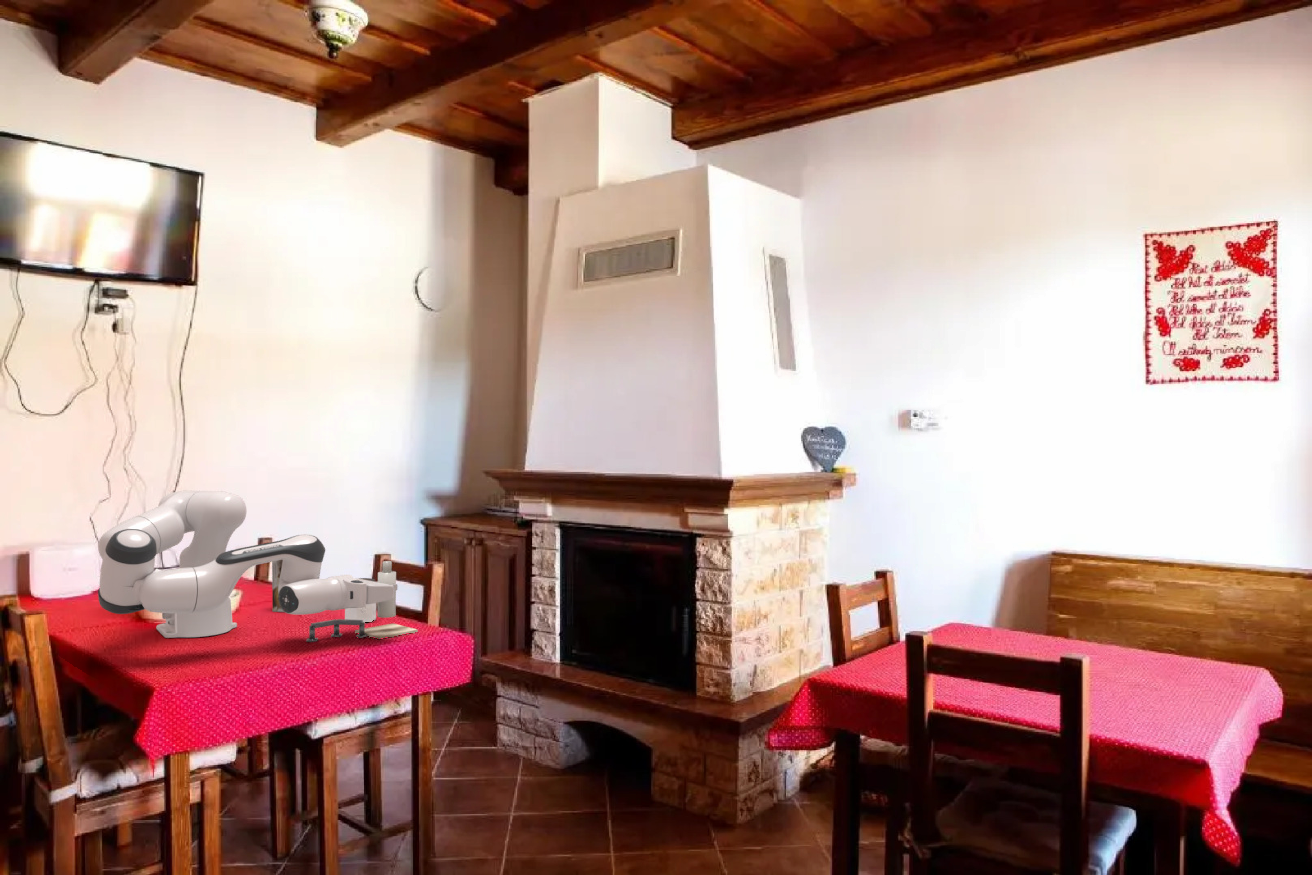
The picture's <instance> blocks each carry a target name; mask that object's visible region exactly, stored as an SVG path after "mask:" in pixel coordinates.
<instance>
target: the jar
mask: <svg viewBox="0 0 1312 875" xmlns="http://www.w3.org/2000/svg"><path fill="white" fill-rule="evenodd" d="M357 578H358V579H363V580H368V581H374V582H376V579H375V578H372V577H371V578H369V577H368V578H367V577H363V578H362V577H360V578H359V577H357ZM344 619H348V620H363V622H372V621H373V620H374V621H376V620H377V603H374V604H366V607H363V608H348V609H344ZM374 621H373V622H374ZM373 622H372V623H373Z"/></svg>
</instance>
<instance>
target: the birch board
mask: <svg viewBox="0 0 1312 875" xmlns="http://www.w3.org/2000/svg"><path fill="white" fill-rule="evenodd" d="M418 630H419V629H416V628H413V627H409V626H405V625H403V624H402V625H401V624H397V623H387V624H383V625H376V626H371V627H370V626H369V627H365V634H367V636H369V637H368V638H370V637H375V638H378V639H381V638H385V637H392V638H395V637H394V636H397V637H399V636H398V635H402V634H406V633H413V634H416V633H415V632H418ZM354 633H355V634H356V633H359V629H355V630H354ZM418 633H419V632H418ZM402 636H403V635H402Z"/></svg>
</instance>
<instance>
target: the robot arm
mask: <svg viewBox="0 0 1312 875" xmlns="http://www.w3.org/2000/svg"><path fill="white" fill-rule="evenodd" d="M246 516H247V505H246V503H245V501H244V499H243V498H242V497H241V496H239V495H237V494H233V493H231V492H227V491H222V490H221V491H219V490H188V489H187V490H179V491H174V492H170V493H169V492H168V493H167V494H166V495H164V496H163V497H162V498H161V499H160V501H159V503H158V506H155V508H152V509H150V510H148V511H145V512H143V513H140V514H138V515H135V516H133V517H130V518H127V520H124V521H122V522H120V523H118V524H117V525H115V526H113V527H112V528H110V529H109V530H107V531H106V532H105V533H103V534H102V536H100V537H99V541H98V545H97V548H98V554H99V556H100V557H101V559H102V563H101V566H100V574H99V588H98V591H97V599H98V603H99V605H100V607H101V608H102V609H103V610H105V611H107V612H109V613H111V614H112V613H113V614H116V615H129V614H133V613H136V612H140V611H144V610H146V611H149V612H150V613H151V612H152V613H158V614H162V615H161V616H162V620H165V622H164V623H159V624H157V625H156V630H157V631H158V632H159V633H160V635H162V636H163V637H164V638H165V639H166V638H167V639H169V638H200V637H209V636H216V635H217V636H218V635H222V634H224V633H227V632H230V631H231V630H232V629H234V628H237V627H238V623H237V622H233V613H232V612H233V611H232V602H231V601H232V600H231V597H230V596H231V594H232V593H233V592H234V589H235V587H236V585H237V583H238V582H239V580H240V579H241V577H242V576H243V575H244V574H245V573H246V571H248V570H249V569H250V568H252V567H254V566H257V565H262V564H267V563H268V564H269V563H272V562H273V561H278V560H283V562H282V569H281V575H280V580H279V587H278V600H279V604H280V607H281V608H282V610H283V611H284V612H283V613H286V614H289V615H295V616H296V615H297V616H298V615H312V614H313V615H314V614H319V613H322V612H325V611H339V610H345V609H348V608H363V607H366V604H374V603H376V604H378V603H379V602H383V601H387V600H391V599H392V598H393V597H394V591H396V592H397V590H398V583H396V584H384V583H379V582H378V581H375V582H374V581H368V580H363V579H358V578H359V577H354V576H352V575H351V574H344V575H343V574H340V575H334V576H329V577H327V578H320V577H321V575H320V574H321V570H322V562H323V560H324V557H325V554H326V547H325V545H324V544H323V543H322V541H321V540H320V539H319V538H318V537H317V536H315V535H312V534H298V535H293V536H290V537H288V538H285V539H281V540H276V541H275V540H274V541H271V542H267V543H260V544H255V545H249V546H245V547H240V548H235V549H231V550H227V546H228V544H229V541H230V539H231V537H232V535H233V534H234V532H235V531H236V530H237V529H238V528H239V527H240V526H242V525H243V523H244V522H245V520H246ZM190 532H193V537H192V540H191V542H190V544H189V545H188V546H187V547H185V548H184V549H183V550H182V551H181V552H180V554H179V563H178V564H179V567H178V568H172V569H165V570H163V569H158V568H156V569H155V563H156V556H157V555H158V554H160V553H163V552H165V551H167V550H169V549H171V548H174V547H175V546H177V545H179V544H180V543H181V542H182V540H184V539H183V538H184V536H185V534H187V533H190ZM226 550H227V551H226Z"/></svg>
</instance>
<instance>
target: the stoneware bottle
mask: <svg viewBox="0 0 1312 875" xmlns="http://www.w3.org/2000/svg"><path fill="white" fill-rule="evenodd" d="M392 562H393V561H391V560H384V561H382V571H379V572H377V582H379V583H384V584H397V572H396V570H395V571H394V570H393V569H392V568H393V567H392V566H393V565H392V564H393V563H392ZM396 597H397V590H396V591H394V597H393V598H392V599H391V600H387V601H383V602H379V603H377V608H376V618H381V619H382V618H383V619H384V618H386V619H387V618H394V617H396V614H397V612H396V609H397V607H396V606H397V604H396V603H397V602H396V601H397V600H396V599H397V598H396Z"/></svg>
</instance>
